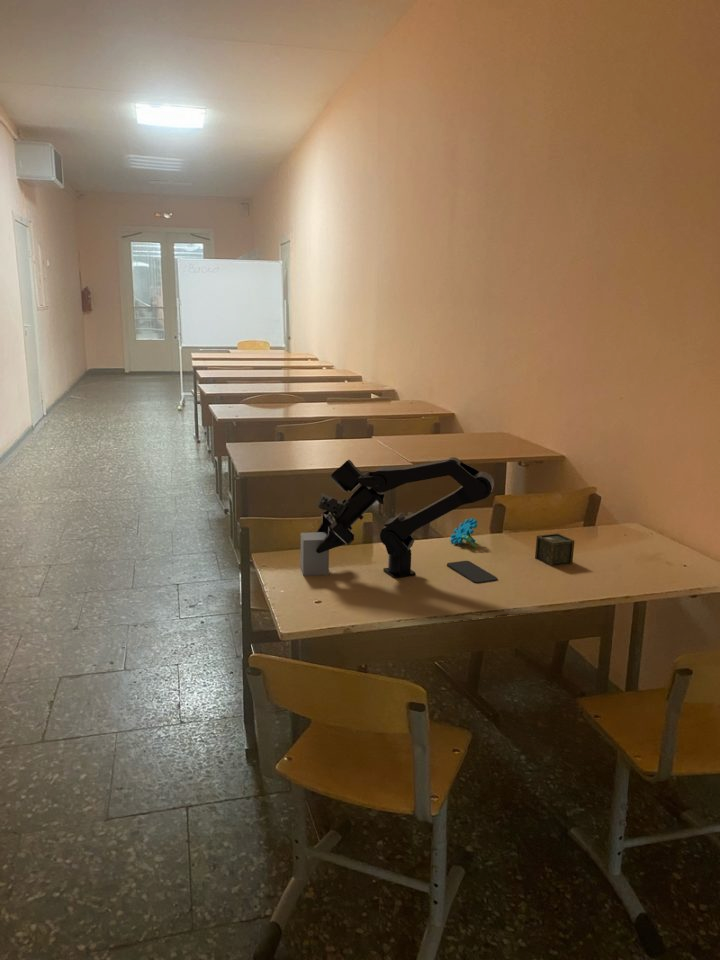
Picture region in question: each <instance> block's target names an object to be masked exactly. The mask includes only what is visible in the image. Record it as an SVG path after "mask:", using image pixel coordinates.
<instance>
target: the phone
mask: <svg viewBox="0 0 720 960" xmlns="http://www.w3.org/2000/svg"><path fill="white" fill-rule="evenodd" d="M446 567H447V568H449V569H451V570H452V571H454V573H455V572H456V573H457V574H458V575H460V576H462V577H464V578H465V579H467V580H468V581H470V582H472V583H474V584H484V583H490V582H496V581H498V577H497V576H496V575H494V574H492V573H490V572H488V571H487V570H485V569H483V568H482V567H480V566H478V565H477V564H475V563H474V562H471V561H470V560H459V561H451V562H448V563H446Z"/></svg>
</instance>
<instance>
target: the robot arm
mask: <svg viewBox="0 0 720 960" xmlns="http://www.w3.org/2000/svg"><path fill="white" fill-rule="evenodd" d="M447 476H450V477H451V478H452V479H454V480H455V481H456V482H457V483H458V484H459V485H460V486H459V487H458V488H457V489H456V490H453V491H452V492H450V493H449V494H447V495H445V496H443V497H441V498H440V499H438V500H436V501H434V502H433V503H431V504H429V505H427V506H426V507H423V508H421V509H419V510H418V511H416V512H415V513H414V512H413V513H412V514H409V515H404V512H403V511H401V512H400V513H399V514H398V515H397V516H394V517H390V518H389V519H388V520H387V521H386V522H385V523H384V527H382V529H381V531H380V533H379V537H380V538H379V539H380V542H381V543H382V544H383V545H384V546H385V550H386V552H387V555H388V567H384V568H383V570H382V571H384V572H385V573H387V574H389V575H390V576H391V577H392V578H395V579H397V578H402V577H408V576H415V575H416V574H417V573H416V572H415V571H414V570H412V569H411V568H412V550H411V548H412V547H413V545H414V543H415V538H413V536H412V534H413V533H414V532H415V531H417V530H419V529H420V528H422V527H424V526H426V525H428V524H429V523H432V522H433V521H436V520H438V519H439V518H440V517H442V516H445V515H446V514H449V513H450V512H452V511H454V510H456V509H458V508H460V507H461V506H463V505H469V504H473V503H476V502H479V501H482V500H486V499H487V498H488V497H489V496H490V495H491V493H492V491H493V489H494V485H495V479H494V478H493V476H492V475H491V474H490V473H488V472H485V471H480V470H478V469H477V468H475V467H473V466H471V465H470V464H467V463H465V462H464V461H461V460H460V459H459V458H458V457H449V458H448V459H441V460H436V461H432V462H427V463H426V462H425V463H421V464H416V465H411V466H395V465H394V466H392V465H391V466H385V465H384V466H381V467H379V468H377V469H375V470H374V471H367V472H364V473H362V471H360V470H359V468H357V466H355V464H354V463H353V461H352V460H350V459H347V460H346V461H345V462H344V463H343V464H341V466H340V467H338V468H337V469H335V470H334V471H333V473H331V475H330V476H329V478H330V479H331V480H332V481H333V482H334V483H336V485H337V486H338V487H339V488H340V489H341V490H342V491H343V492H344V493H348V492H350V493H352V492H353V491H354V490H355V489H356V488H357V487H358V486H359V487H358V488H357V489H356V490H355V491H354V492H353V493H352V494H351V495H350V497H348V498H346V497H345V498H342V499H341V500H338V499H337V498H335V497H333V496H330V495H327V494H326V493H321V494H320V496H319V498H318V500H317V502H316V505H317V507H318V509H320V510H321V515H320V516H321V523H320V525H319V527H318V528H317V530H316V532H326V534H327V536H326V537H325V539H324V540H323V541H322V542H321V544H320V545H319V546H318V548H317V549H316V552H317V553H322V552H324V551H327V550H329V551H330V550H332V549H335V548H338V547H340V546H341V547H342V546H346V545H348V546H349V545H351V544H352V543H353V542H354V541H355V534H354V533H353V531H352V529H353V527H352V526H353V525H354V524H355V523H356V522H357V521H358V520H359V519H360V520H363V519H364V514H365V513H366V512H367V511H368V510H369V509H370V508H371V507H372V506H374V504H375V503H376V502H379V504H380V505H382V506H383V505H384V504H385V496H386V494H384V493H385V492H388V491H390V490H394V489H396V488H398V487H400V486H402V485H405V484H408V483H415V482H420V481H426V480H430V479H436V478H442V477H447Z"/></svg>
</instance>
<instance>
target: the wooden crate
mask: <svg viewBox="0 0 720 960" xmlns="http://www.w3.org/2000/svg"><path fill="white" fill-rule="evenodd" d="M535 541H536V542H535V551H534V553H535V554H534V559H536V560H538V561H540V562H542V563H543V564H545V565H547V566H549V567H557V566H565V565H572V564H573V561H574V549H575V540H574V539H571V538H570V537H567V536H565V535H562V534H560V533H548V534H541V535H540V534H538V535H536V540H535Z"/></svg>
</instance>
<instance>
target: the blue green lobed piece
mask: <svg viewBox="0 0 720 960" xmlns="http://www.w3.org/2000/svg"><path fill="white" fill-rule="evenodd" d="M477 524H478V520H477V519H476V518H475V519H474V518H473V517H470V519H468V518H466V519H465V520H464V523H463V522H461V523H459V524H458V526H459V528H457V527H455V528H454V530H453V532H455V533H451V534H450V540H449V541H450V542H451V543H452V544H454V545H457V544H462V543H463V542H464V541H466V543H467V545H468V544H469V545H471V546H472V547H473V548H476V547H477V545H476V544H475V542H476V539H475V538H473V537H472V535H473V534H474V533H475V531H474V530H475V529H476V528H478V525H477Z"/></svg>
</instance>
